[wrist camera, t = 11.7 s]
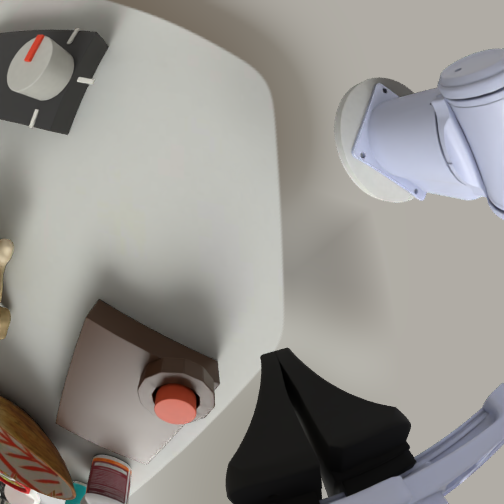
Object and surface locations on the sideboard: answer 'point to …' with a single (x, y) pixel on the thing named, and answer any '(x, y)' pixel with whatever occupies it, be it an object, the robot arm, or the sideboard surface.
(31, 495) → the white u-slot block
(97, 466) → the pill bottle
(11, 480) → the toy clock
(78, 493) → the beverage can
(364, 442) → the robot arm
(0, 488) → the game controller
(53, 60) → the knob
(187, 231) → the sideboard surface
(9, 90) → the panel
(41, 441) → the bowl
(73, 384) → the brown button box
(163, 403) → the power button
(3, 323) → the cat figurine
